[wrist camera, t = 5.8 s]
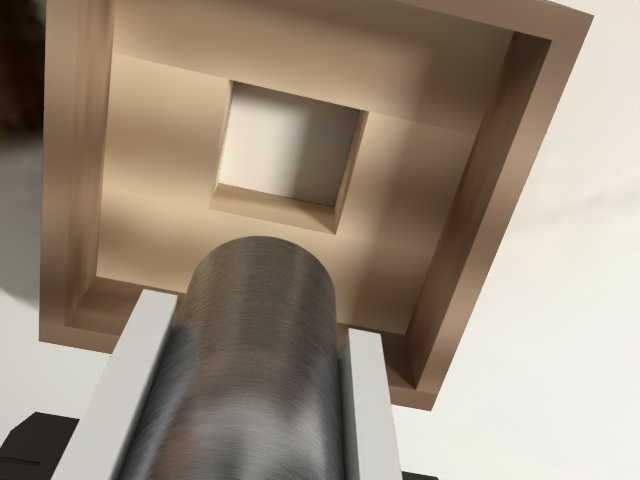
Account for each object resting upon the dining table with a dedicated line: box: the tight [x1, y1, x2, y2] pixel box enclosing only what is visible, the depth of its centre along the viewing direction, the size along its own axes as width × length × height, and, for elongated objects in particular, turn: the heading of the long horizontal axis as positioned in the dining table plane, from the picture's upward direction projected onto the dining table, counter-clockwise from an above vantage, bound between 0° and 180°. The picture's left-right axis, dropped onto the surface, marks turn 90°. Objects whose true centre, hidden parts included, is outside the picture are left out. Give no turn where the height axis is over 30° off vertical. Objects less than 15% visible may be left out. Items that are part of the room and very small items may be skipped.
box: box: [39, 0, 594, 411], centre depth 25 cm, size 17×17×7 cm
